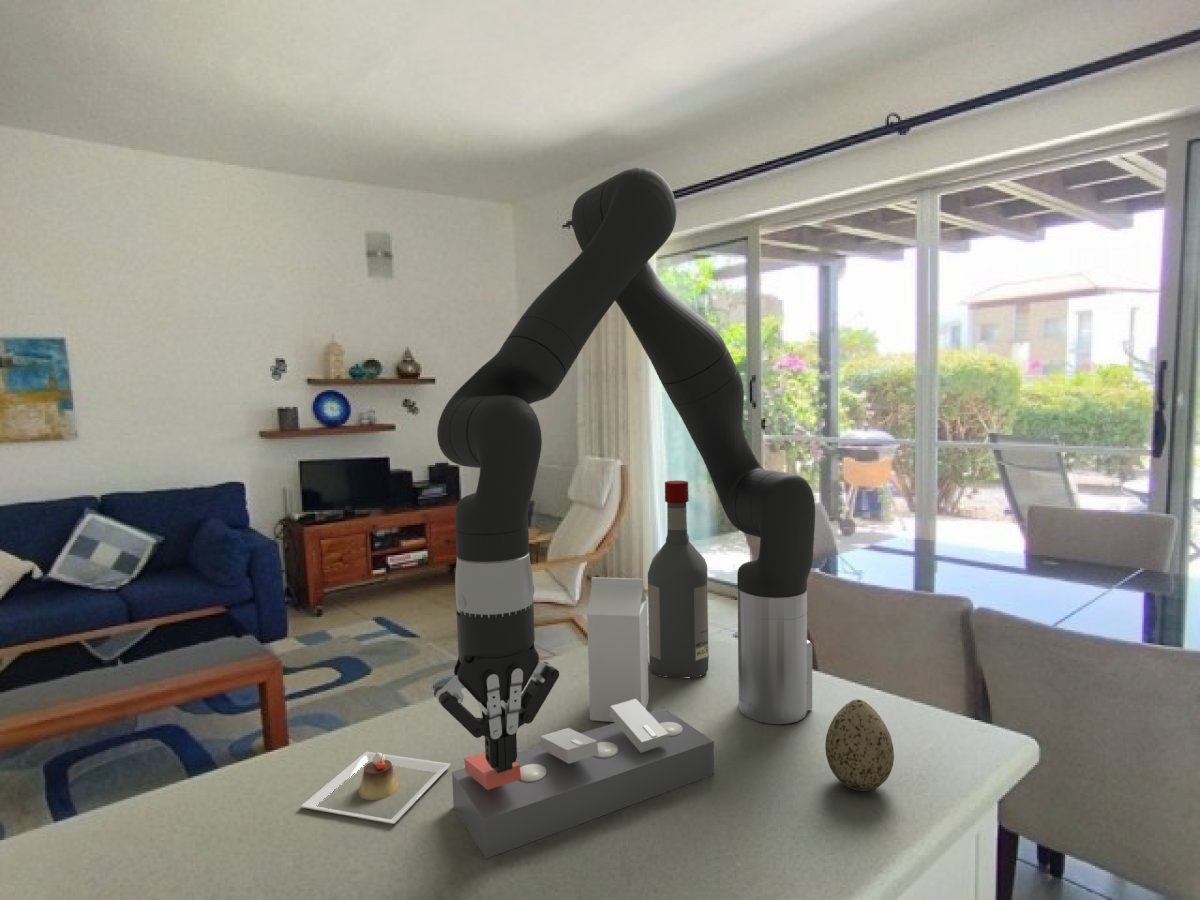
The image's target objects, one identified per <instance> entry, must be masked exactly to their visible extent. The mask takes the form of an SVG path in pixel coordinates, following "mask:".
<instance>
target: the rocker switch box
mask: <svg viewBox="0 0 1200 900" xmlns="http://www.w3.org/2000/svg"><path fill="white" fill-rule="evenodd" d="M649 713H650V714H651V715H652V716H653V717H654V718H655V720H656V721H657V722H658V723H659V724H660V725H661V726H662V727H663V728H664V729H665V730H666V731H667V732H668V733H669V735H668V743H667V744H666V745H663V746H660V747H657V748H654V749H651V750H648V751H645V752H642V753H641V752H640V751H639V750H638V749H637V748H636V747H635V745H634V744H633V743H632V742H631V741H630V740H629V738H628V737H627V736H626V735H625V734H624V733H623V731H622V730H621V729H620V728H619V727H618V725H617V724H616V723H615V722H612V723H610V724H606V725H603V726H601V727H597V728H594V729H590V730H586V731H584V732H580V733H581V734H583V735H585V736H587V737H590V738H592V739H594V740H596V741H597V745H598V753H599V754H598V755H595V756H591V757H588V758H585V759H582V760H579V761H576V762H573V763H570V764H568V763H566V762H565V761H563V760H561V759H559V758H558V757H556V756H554V755H552V754H550V753H549V752H547V751H545V750H543V749H542V746H541V744H540V745H536V746H534V747H530V748H526V749H523V750H520V751H517V759H516V763H518V764H519V765H520V773H521V779H520V780H517V781H513V782H510V783H507V784H504V785H501V786H498V787H495V788H492V789H489V790H487V789H486V788H485V787H483V786H482V785H481V784H480V783H479V782H477V781H476V780H475V779H474V778H472V777H471V776H470V775H469V774H468V773H466V772H465V767H463V768H460V769H457V770H454V771H452V772H451V778H452V779H451V781H452V798H453V799H452V800H453V801H452V802H453V808H454V810H455V811H456V813H457V815H458V816H459V818H460V820H461V821H462V823H463V825H464V826H465V828H466V829H467V831H468V832H469V834H470V836H471V837H472V839H473V840H474V842H475V843H476V846H477V847H478V848H479V850H480V852H481V854H482V855H483V857H484V859H486V860H487V859H490V858H493V857H495V856H497V855H499V854H502V853H506V852H509V851H511V850H513V849H516V848H519V847H522V846H524V845H527V844H530V843H533V842H535V841H538V840H541V839H544V838H546V837H548V836H551V835H554V834H557V833H559V832H563V831H565V830H568V829H570V828H574V827H576V826H578V825H581V824H584V823H586V822H589V821H592V820H595V819H598V818H600V817H602V816H605V815H608V814H612V813H613V812H616V811H618V810H619V811H620V810H623V809H625V808H627V807H631V806H632V805H635V804H637V803H640V802H644V801H646V800H648V799H651V798H654V797H656V796H659V795H663V794H665V793H667V792H671V791H672V790H675V789H679V788H681V787H683V786H687V785H689V784H692V783H694V782H697V781H700V780H702V779H705V778H709V777H710V776H713V775H715V741H714V740H713V739H711V738H710V737H709V736H707V735H705V734H703V733H702V732H701V731H699V730H698V729H696V728H695V727H693V726H692V725H690V724H689V723H688V722H686V721H684V720H683V719H682V718H680V717H678V716H677V715H676V714H674V713H672V712H671V711H669V710H668V709H666V708H665V707H664V708H661V709H657V710H653V711H650V712H649Z"/></svg>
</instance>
